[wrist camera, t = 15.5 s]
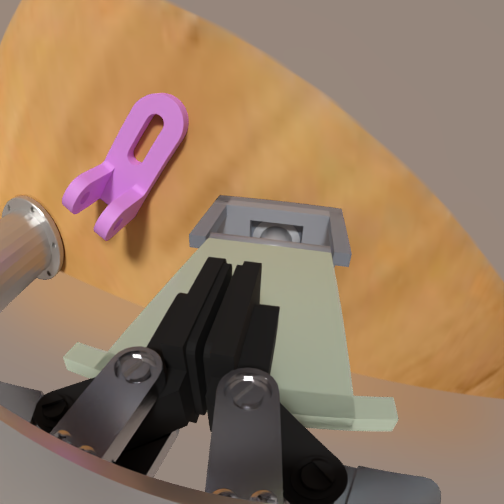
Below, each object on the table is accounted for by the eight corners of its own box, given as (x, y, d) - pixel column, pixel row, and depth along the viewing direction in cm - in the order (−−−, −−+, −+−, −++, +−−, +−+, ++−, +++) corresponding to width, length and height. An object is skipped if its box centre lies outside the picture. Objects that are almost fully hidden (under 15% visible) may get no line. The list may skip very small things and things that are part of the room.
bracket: (135, 216, 32) (100, 247, 26) (97, 186, 31) (58, 211, 25) (200, 114, 26) (168, 123, 20) (154, 82, 25) (112, 84, 19)
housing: (220, 318, 37) (200, 372, 30) (219, 195, 29) (189, 234, 22) (316, 332, 35) (314, 390, 28) (341, 208, 28) (351, 254, 21)
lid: (68, 373, 10) (61, 352, 9) (194, 241, 24) (194, 228, 23) (389, 434, 8) (400, 415, 8) (347, 260, 22) (349, 247, 22)
